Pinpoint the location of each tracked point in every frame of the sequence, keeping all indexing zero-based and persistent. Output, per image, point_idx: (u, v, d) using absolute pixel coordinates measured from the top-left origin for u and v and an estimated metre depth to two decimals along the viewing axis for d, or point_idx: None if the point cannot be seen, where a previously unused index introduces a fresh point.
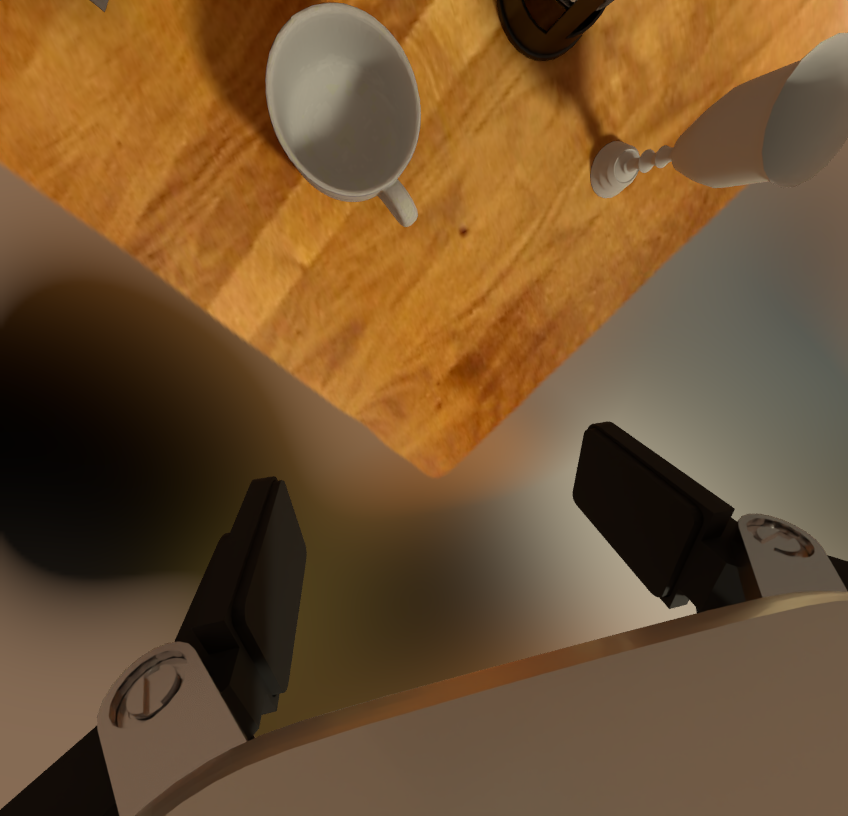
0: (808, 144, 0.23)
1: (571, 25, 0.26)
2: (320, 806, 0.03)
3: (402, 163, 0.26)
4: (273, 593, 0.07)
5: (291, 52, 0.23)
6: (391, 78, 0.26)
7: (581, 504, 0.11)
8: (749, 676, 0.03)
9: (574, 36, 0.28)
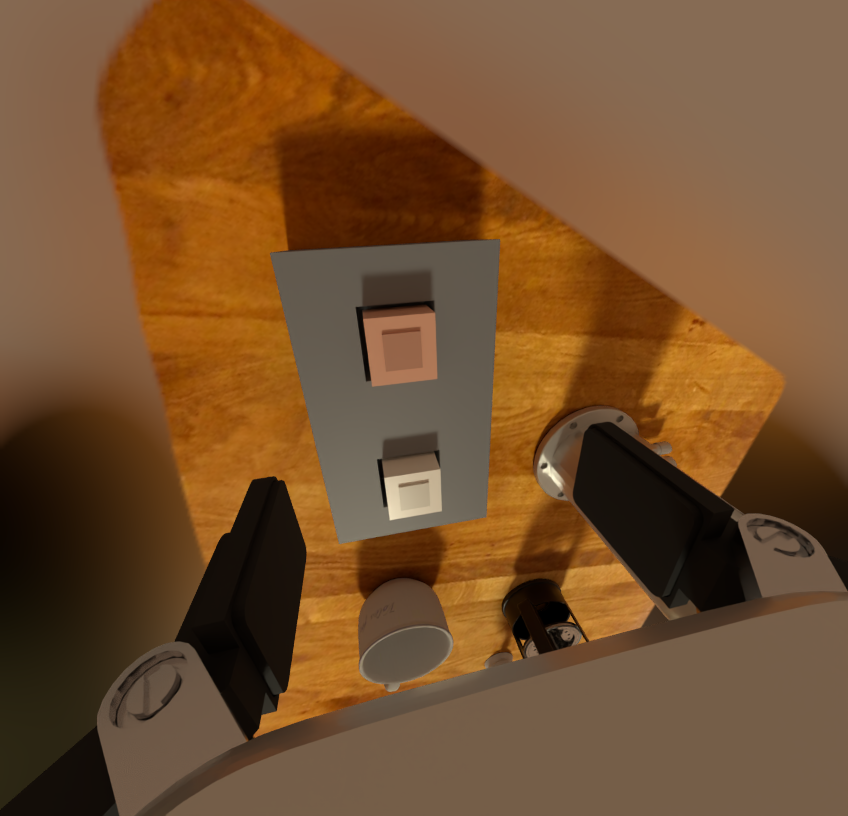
0: None
1: (522, 651, 0.47)
2: (320, 807, 0.03)
3: (409, 677, 0.40)
4: (273, 593, 0.07)
5: None
6: None
7: (581, 504, 0.11)
8: (749, 676, 0.03)
9: (522, 639, 0.49)
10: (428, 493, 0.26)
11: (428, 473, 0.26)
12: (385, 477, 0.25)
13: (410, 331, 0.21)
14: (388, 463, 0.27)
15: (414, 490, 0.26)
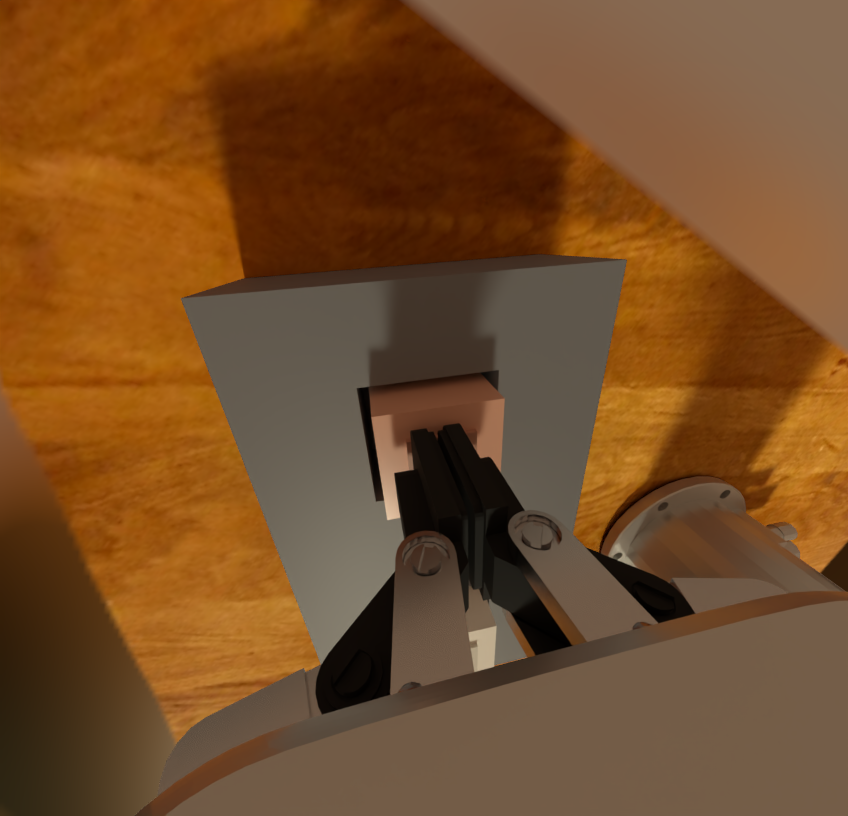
0: None
1: None
2: (320, 809, 0.03)
3: None
4: None
5: None
6: None
7: None
8: (749, 676, 0.03)
9: None
10: (475, 659, 0.17)
11: (477, 632, 0.16)
12: None
13: None
14: None
15: None
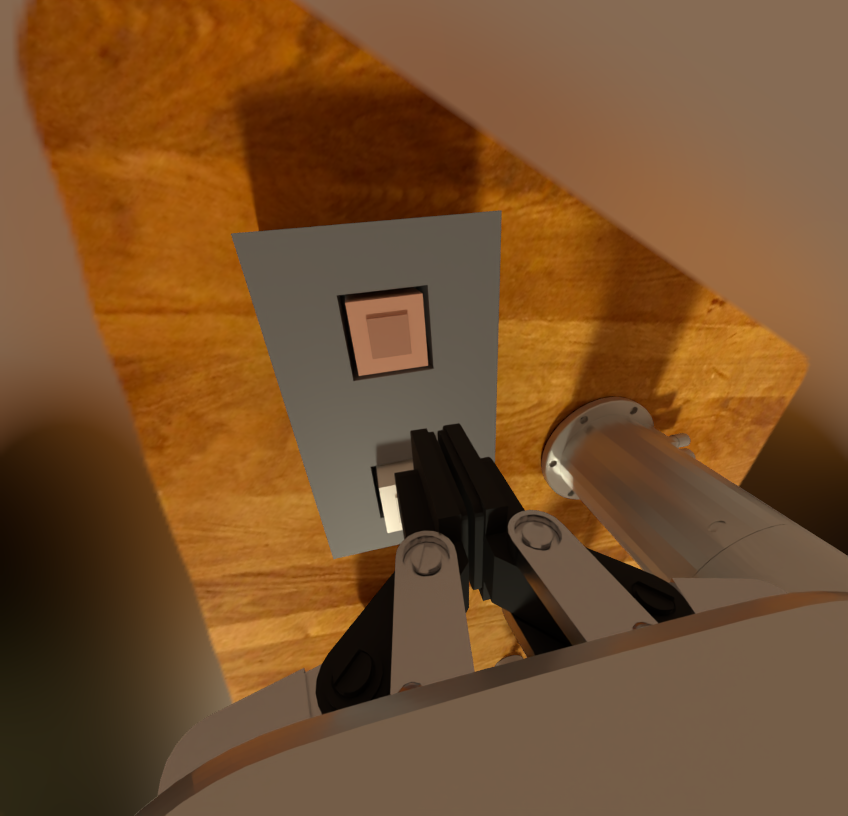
0: None
1: None
2: (319, 807, 0.03)
3: None
4: None
5: None
6: None
7: None
8: (750, 677, 0.03)
9: None
10: None
11: None
12: (380, 487, 0.23)
13: (396, 314, 0.19)
14: (383, 470, 0.24)
15: None
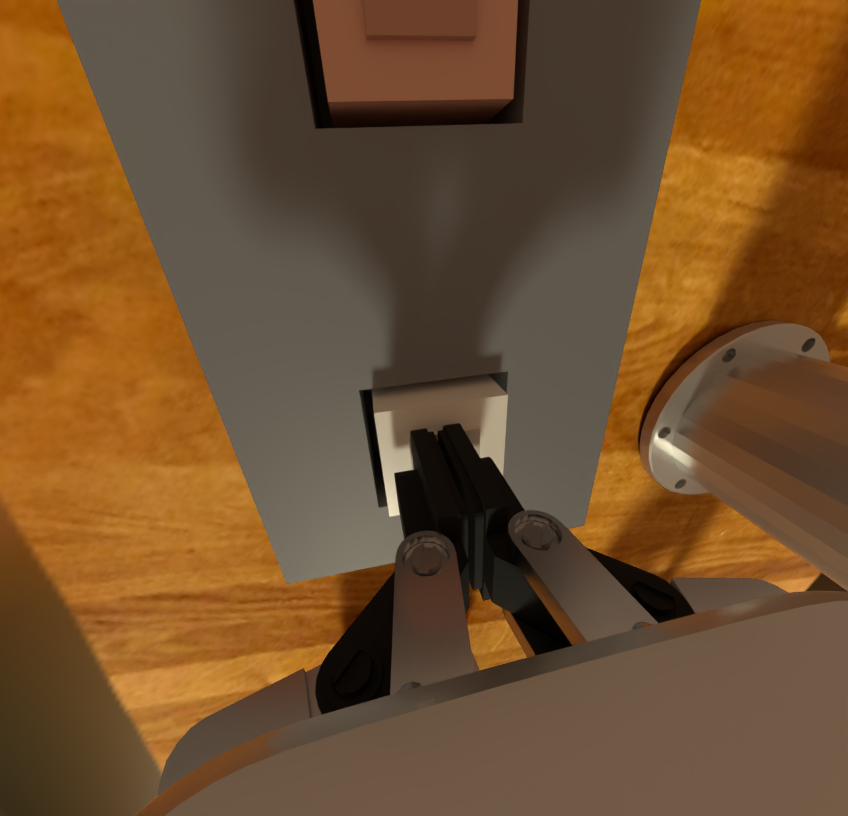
0: None
1: None
2: (318, 809, 0.03)
3: None
4: None
5: None
6: None
7: None
8: (750, 678, 0.03)
9: None
10: None
11: (479, 404, 0.11)
12: (376, 412, 0.10)
13: None
14: (385, 388, 0.12)
15: None
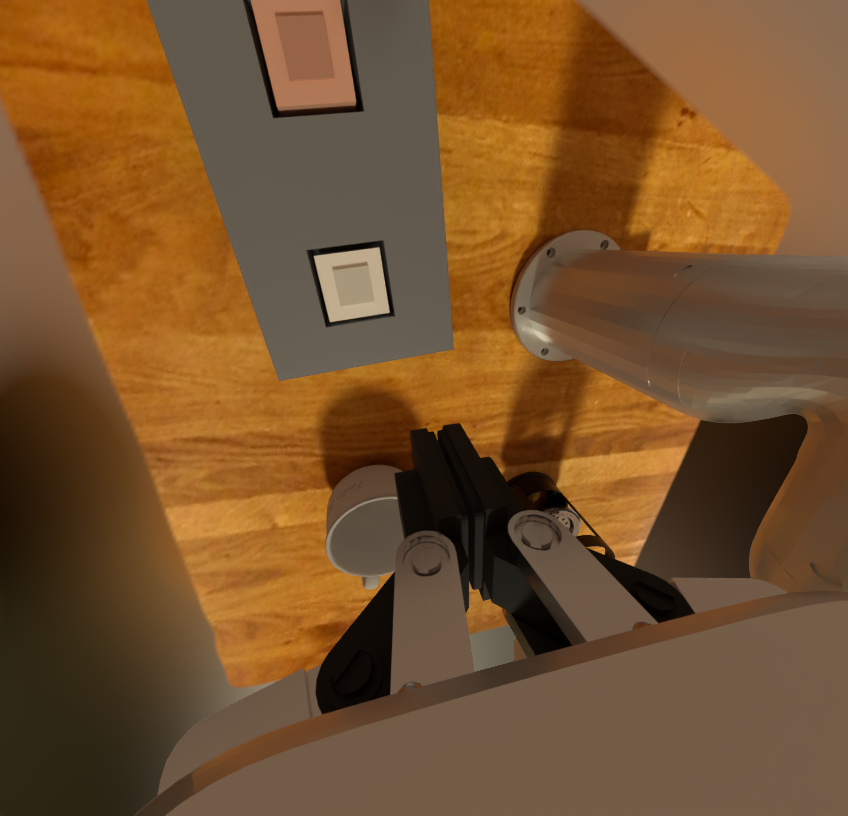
0: None
1: None
2: (320, 807, 0.03)
3: (388, 570, 0.35)
4: None
5: None
6: None
7: None
8: (749, 677, 0.03)
9: None
10: (369, 281, 0.23)
11: (365, 252, 0.23)
12: (315, 256, 0.22)
13: (311, 16, 0.17)
14: None
15: (352, 275, 0.23)
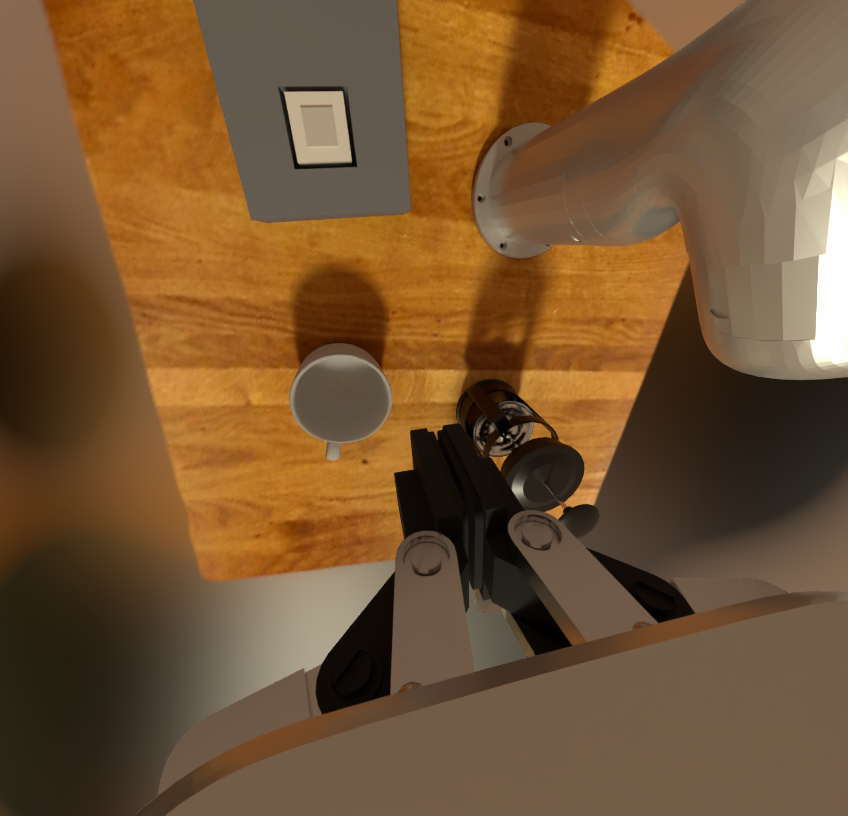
0: None
1: (474, 446, 0.45)
2: (320, 807, 0.03)
3: (349, 439, 0.38)
4: None
5: None
6: (383, 393, 0.40)
7: None
8: (749, 676, 0.03)
9: None
10: (333, 124, 0.26)
11: (330, 95, 0.26)
12: (285, 92, 0.25)
13: None
14: None
15: (317, 116, 0.26)
